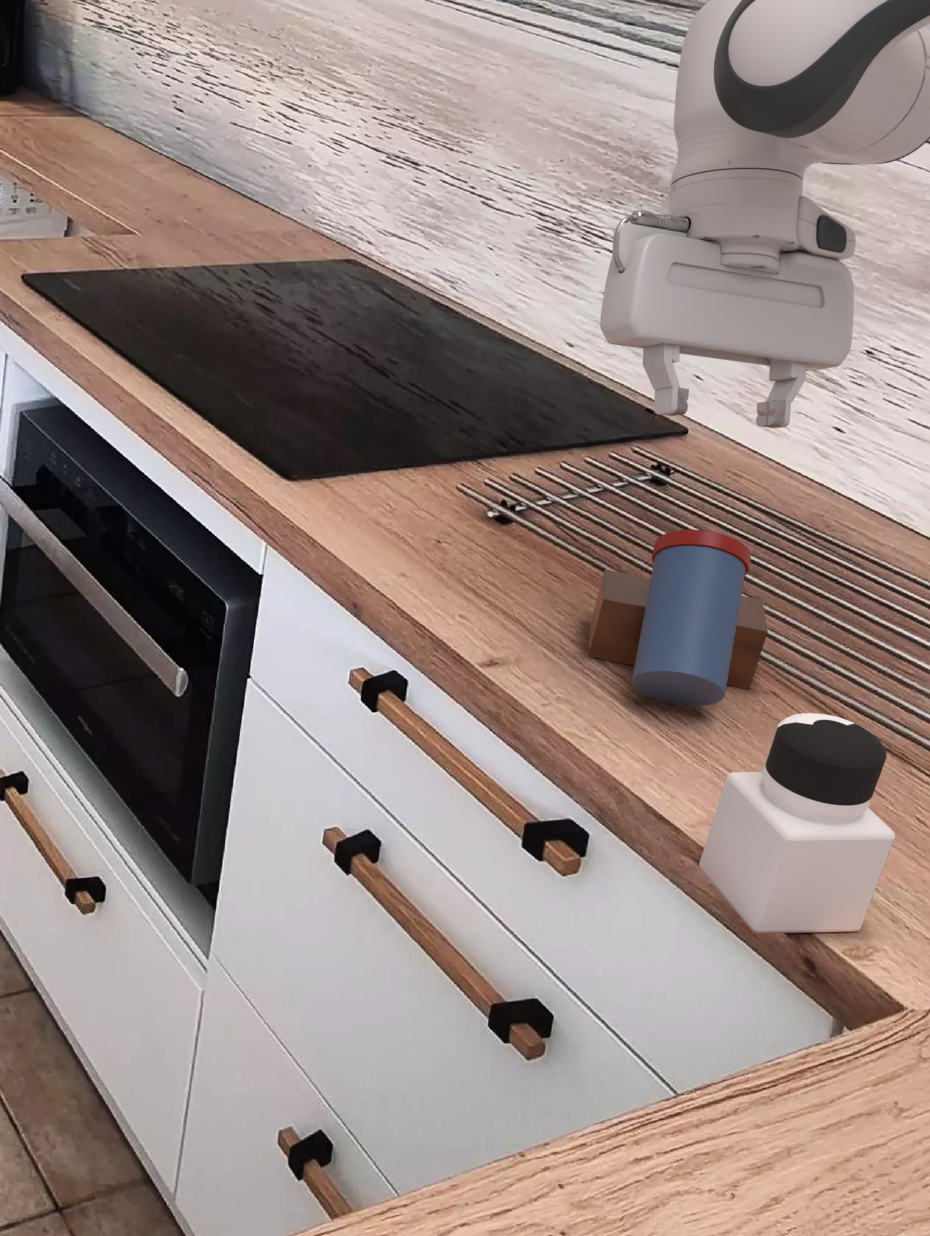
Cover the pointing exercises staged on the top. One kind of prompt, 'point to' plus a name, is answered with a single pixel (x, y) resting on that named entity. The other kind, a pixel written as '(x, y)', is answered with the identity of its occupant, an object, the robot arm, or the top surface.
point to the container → (690, 617)
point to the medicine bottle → (802, 830)
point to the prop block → (623, 619)
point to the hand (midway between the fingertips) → (722, 421)
